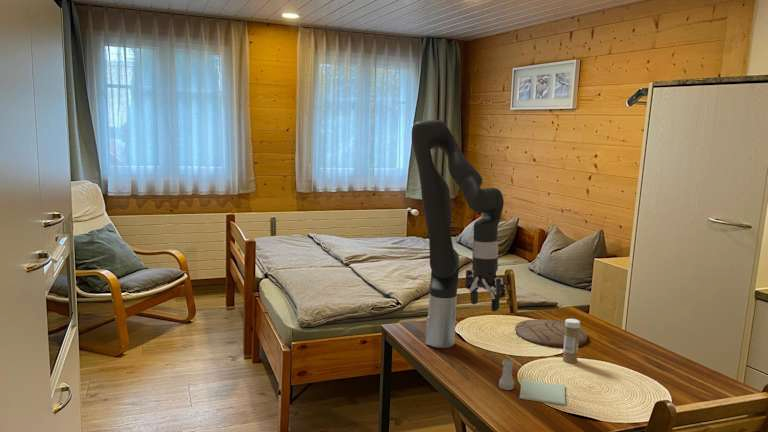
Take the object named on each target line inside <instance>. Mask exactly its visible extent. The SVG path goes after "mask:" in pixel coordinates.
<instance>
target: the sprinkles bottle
mask: <svg viewBox="0 0 768 432" xmlns="http://www.w3.org/2000/svg"><path fill="white" fill-rule="evenodd" d="M564 323H565V336H564V348H562V349H563V352H562V353H563V354H562V355H563V356H562V361H563V362H565V363H568V362H569V363H568V364H574V363H577V362H578V351H579V346H578V338H579V328H581V321H580V320H579V319H576V318H566V319H565V321H564Z"/></svg>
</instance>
